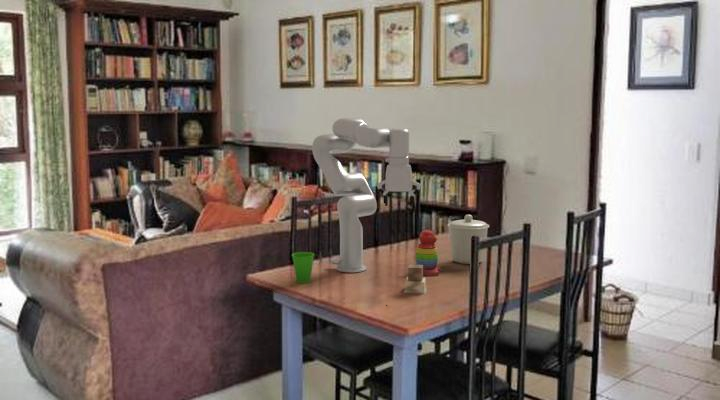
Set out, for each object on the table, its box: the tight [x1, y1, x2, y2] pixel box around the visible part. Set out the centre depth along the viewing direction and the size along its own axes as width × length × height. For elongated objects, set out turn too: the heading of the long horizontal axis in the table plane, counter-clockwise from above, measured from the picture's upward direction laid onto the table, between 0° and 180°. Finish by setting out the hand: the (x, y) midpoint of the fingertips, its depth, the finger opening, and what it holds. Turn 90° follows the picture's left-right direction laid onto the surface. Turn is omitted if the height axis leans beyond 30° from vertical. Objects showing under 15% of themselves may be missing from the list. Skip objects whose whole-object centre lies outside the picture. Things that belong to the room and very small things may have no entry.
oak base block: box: [404, 276, 427, 294], centre depth 260 cm, size 7×7×4 cm
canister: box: [447, 214, 490, 265], centre depth 309 cm, size 18×18×21 cm
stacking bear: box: [414, 228, 441, 277], centre depth 291 cm, size 11×10×18 cm
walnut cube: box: [407, 264, 424, 282], centre depth 259 cm, size 5×5×5 cm
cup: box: [291, 251, 316, 284], centre depth 277 cm, size 9×9×11 cm
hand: (398, 205), depth 272 cm, fingers open, 9 cm apart
